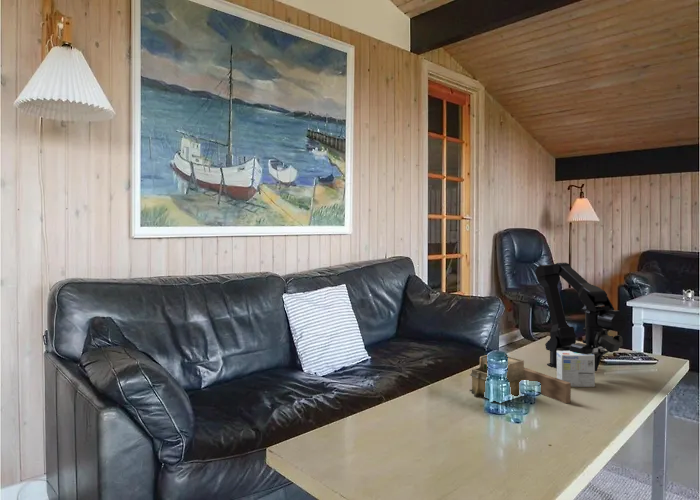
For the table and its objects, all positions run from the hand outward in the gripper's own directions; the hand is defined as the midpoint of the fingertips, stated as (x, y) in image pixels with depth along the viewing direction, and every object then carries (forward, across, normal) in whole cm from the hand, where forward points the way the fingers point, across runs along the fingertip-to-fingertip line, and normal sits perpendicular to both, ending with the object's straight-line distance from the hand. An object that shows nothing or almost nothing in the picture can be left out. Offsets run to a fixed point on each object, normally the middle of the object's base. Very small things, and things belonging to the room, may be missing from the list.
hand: (594, 370), depth 168 cm
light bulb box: (+3, -10, 0) cm, 10 cm away
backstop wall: (+3, -26, 0) cm, 26 cm away
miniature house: (+3, -39, +7) cm, 40 cm away
